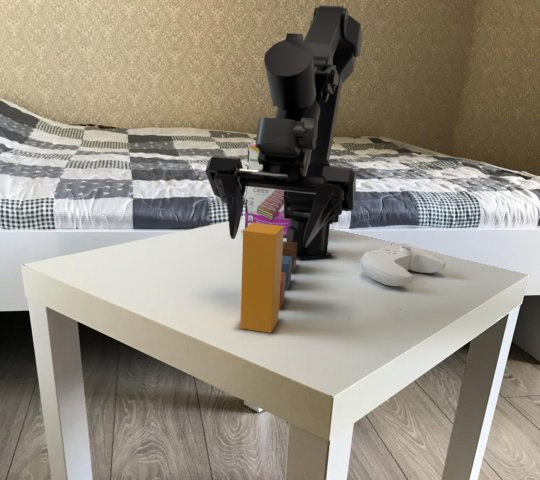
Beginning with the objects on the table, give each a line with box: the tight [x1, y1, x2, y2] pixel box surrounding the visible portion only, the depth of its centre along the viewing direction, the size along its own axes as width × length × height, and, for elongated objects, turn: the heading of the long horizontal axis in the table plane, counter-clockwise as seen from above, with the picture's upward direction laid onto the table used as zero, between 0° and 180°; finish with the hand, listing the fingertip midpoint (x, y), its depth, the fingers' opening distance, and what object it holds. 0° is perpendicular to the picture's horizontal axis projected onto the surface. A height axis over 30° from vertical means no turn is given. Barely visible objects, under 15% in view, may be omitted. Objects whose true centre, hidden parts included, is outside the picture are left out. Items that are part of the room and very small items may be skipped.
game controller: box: [358, 242, 447, 287], centre depth 93 cm, size 14×4×10 cm
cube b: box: [281, 256, 292, 291], centre depth 86 cm, size 4×4×4 cm
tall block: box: [239, 223, 284, 334], centre depth 71 cm, size 4×4×12 cm
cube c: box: [279, 272, 286, 310], centre depth 80 cm, size 4×4×4 cm
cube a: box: [282, 240, 298, 274], centre depth 93 cm, size 4×4×4 cm
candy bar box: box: [244, 141, 290, 238], centre depth 110 cm, size 11×5×16 cm, turn 71°
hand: (267, 241), depth 71 cm, fingers open, 9 cm apart
